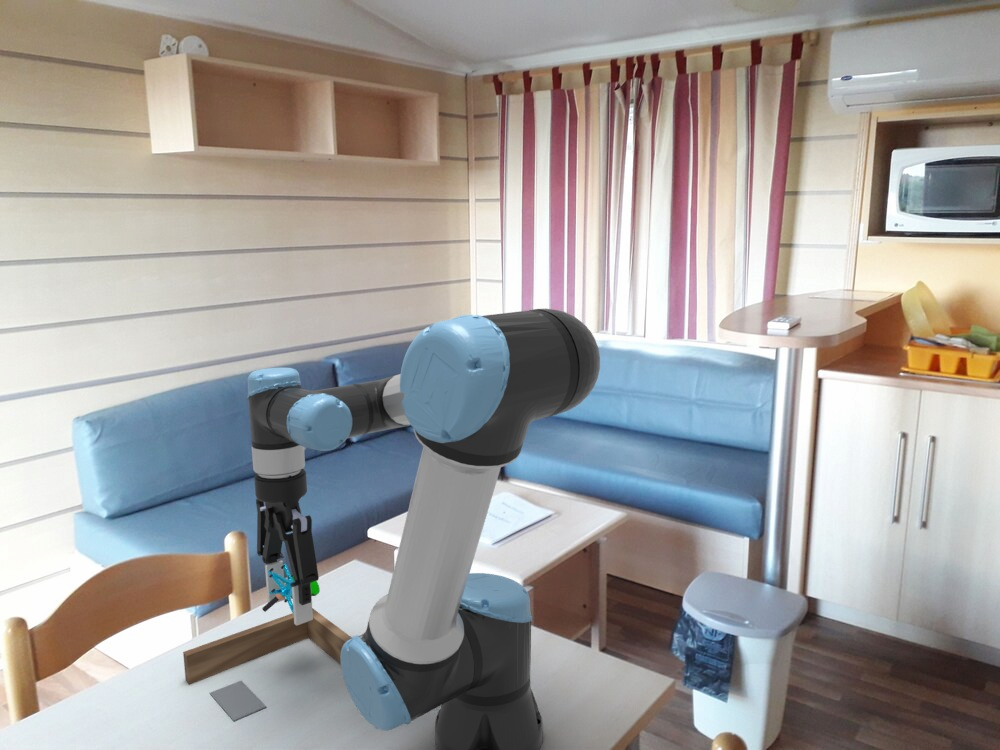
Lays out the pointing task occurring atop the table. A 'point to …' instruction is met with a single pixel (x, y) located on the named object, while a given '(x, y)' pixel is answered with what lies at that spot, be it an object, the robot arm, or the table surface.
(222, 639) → the wooden corner wall
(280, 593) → the stick construction toy
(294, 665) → the table surface
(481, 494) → the robot arm
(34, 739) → the table surface
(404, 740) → the table surface
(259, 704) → the pad
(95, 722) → the table surface
